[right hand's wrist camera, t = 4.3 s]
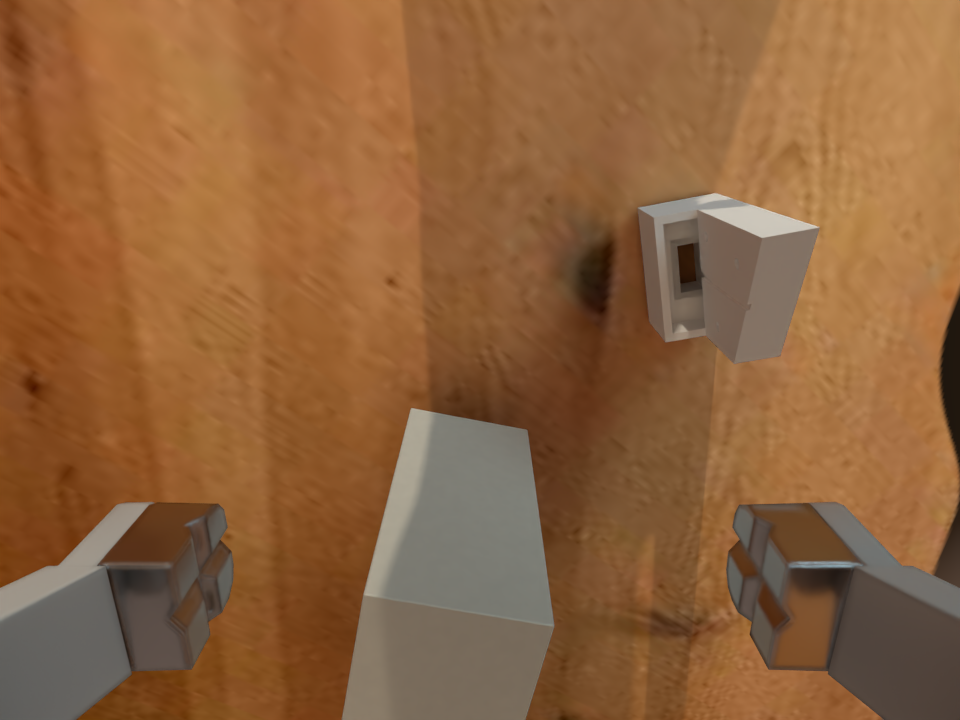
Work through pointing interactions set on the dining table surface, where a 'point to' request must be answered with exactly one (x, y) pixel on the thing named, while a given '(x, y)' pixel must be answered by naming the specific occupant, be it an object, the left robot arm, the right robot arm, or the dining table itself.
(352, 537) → the dining table surface
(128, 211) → the dining table surface
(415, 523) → the box
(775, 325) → the white angled block
